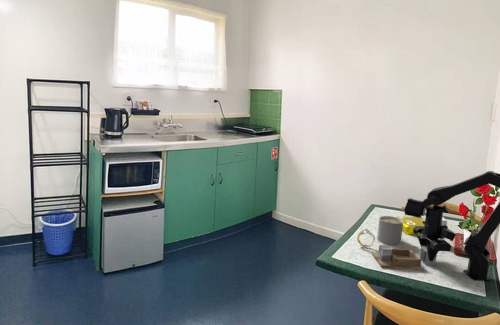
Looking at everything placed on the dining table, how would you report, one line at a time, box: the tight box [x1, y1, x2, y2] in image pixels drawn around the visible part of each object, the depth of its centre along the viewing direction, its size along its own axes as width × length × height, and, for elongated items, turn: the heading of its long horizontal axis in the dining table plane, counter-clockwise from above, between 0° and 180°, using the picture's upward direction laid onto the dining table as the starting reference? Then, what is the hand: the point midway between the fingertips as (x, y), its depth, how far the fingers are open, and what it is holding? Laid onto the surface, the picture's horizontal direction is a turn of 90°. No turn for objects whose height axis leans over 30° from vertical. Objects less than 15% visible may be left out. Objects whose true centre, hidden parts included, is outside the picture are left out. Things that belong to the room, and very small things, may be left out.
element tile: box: [396, 216, 425, 236], centre depth 173 cm, size 15×15×5 cm
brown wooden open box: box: [371, 244, 423, 270], centre depth 137 cm, size 11×15×6 cm
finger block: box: [419, 246, 438, 266], centre depth 138 cm, size 4×4×6 cm
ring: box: [356, 228, 376, 248], centre depth 150 cm, size 7×3×8 cm, turn 62°
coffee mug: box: [376, 215, 403, 246], centre depth 159 cm, size 13×10×10 cm
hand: (428, 258), depth 138 cm, fingers closed on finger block, 4 cm apart
